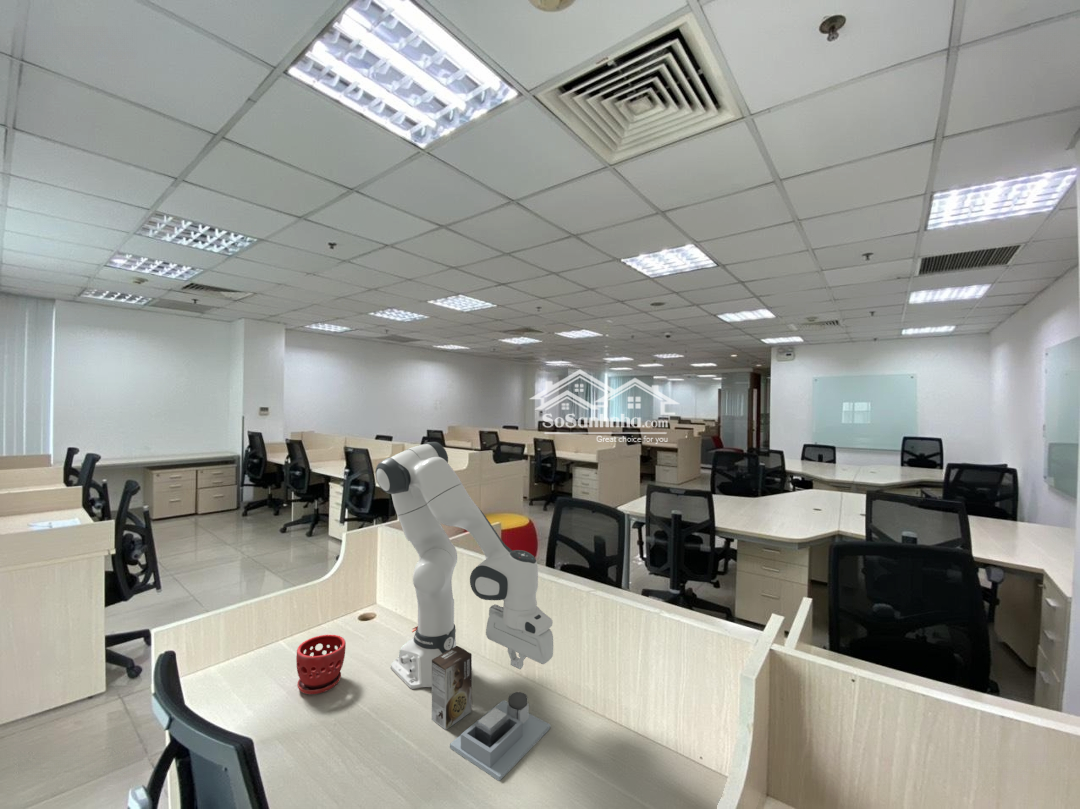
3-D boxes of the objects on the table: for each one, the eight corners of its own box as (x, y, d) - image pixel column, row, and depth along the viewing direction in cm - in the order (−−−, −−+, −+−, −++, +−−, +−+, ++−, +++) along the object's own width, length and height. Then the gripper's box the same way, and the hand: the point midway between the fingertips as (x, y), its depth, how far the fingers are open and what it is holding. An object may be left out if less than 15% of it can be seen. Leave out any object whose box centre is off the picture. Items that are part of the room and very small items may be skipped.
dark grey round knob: (504, 717, 116) (504, 699, 116) (516, 706, 120) (516, 689, 120) (519, 725, 113) (519, 707, 113) (531, 714, 117) (531, 696, 117)
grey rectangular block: (475, 746, 107) (475, 721, 107) (494, 729, 113) (494, 705, 113) (490, 756, 104) (490, 730, 104) (509, 738, 110) (509, 713, 110)
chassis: (449, 747, 108) (450, 727, 108) (503, 703, 124) (503, 685, 124) (499, 781, 98) (499, 758, 98) (550, 728, 114) (550, 709, 114)
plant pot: (309, 705, 122) (309, 662, 122) (288, 687, 130) (288, 646, 130) (353, 682, 133) (354, 642, 133) (331, 666, 141) (331, 628, 141)
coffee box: (457, 701, 124) (457, 644, 124) (472, 712, 120) (473, 652, 120) (430, 719, 117) (430, 658, 117) (445, 731, 113) (446, 668, 113)
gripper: (482, 606, 120) (479, 656, 120) (544, 631, 109) (541, 687, 109) (497, 598, 125) (494, 647, 125) (557, 622, 114) (555, 675, 114)
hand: (516, 666), depth 117 cm, fingers closed
